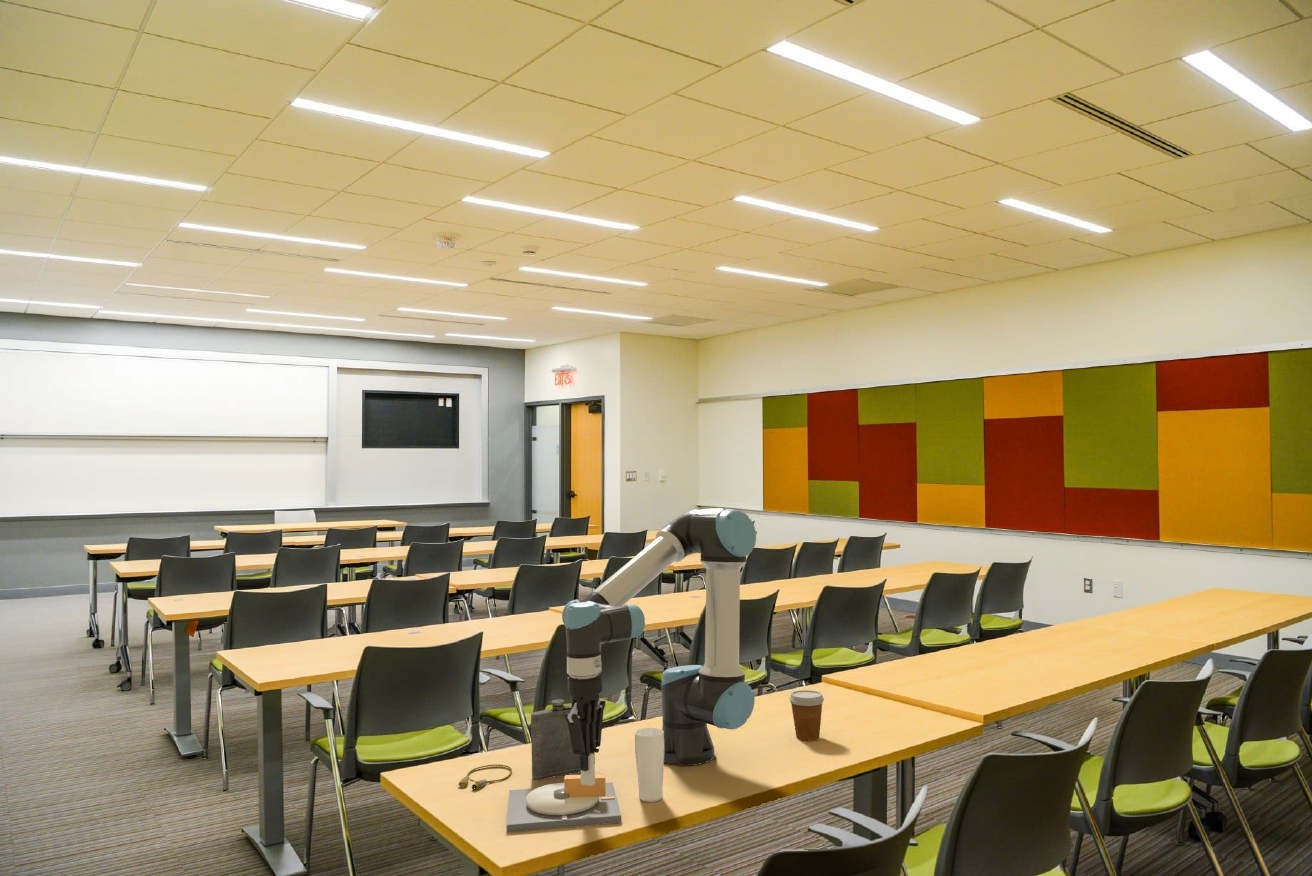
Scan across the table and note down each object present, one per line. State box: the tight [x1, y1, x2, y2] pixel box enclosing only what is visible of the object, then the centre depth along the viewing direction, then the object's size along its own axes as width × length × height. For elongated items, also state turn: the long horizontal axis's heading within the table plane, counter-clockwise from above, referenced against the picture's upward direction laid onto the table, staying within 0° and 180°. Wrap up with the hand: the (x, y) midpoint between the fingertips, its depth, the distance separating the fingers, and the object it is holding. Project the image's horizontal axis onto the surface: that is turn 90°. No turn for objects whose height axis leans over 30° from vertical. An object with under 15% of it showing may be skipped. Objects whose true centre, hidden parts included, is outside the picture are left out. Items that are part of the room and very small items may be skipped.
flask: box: [530, 698, 581, 781], centre depth 210 cm, size 4×14×18 cm, turn 116°
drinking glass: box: [634, 727, 665, 803], centre depth 192 cm, size 7×7×15 cm
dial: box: [526, 773, 607, 815], centre depth 187 cm, size 18×16×5 cm
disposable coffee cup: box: [788, 689, 825, 742], centre depth 233 cm, size 10×10×12 cm
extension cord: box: [458, 764, 513, 792], centre depth 208 cm, size 12×16×2 cm
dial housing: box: [506, 781, 622, 833], centre depth 187 cm, size 24×20×2 cm
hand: (588, 783), depth 183 cm, fingers closed
